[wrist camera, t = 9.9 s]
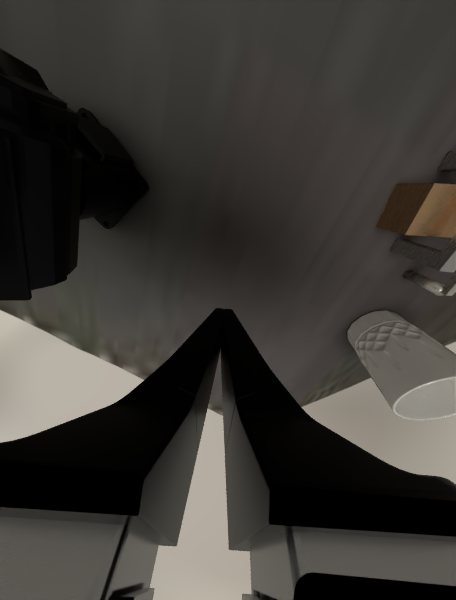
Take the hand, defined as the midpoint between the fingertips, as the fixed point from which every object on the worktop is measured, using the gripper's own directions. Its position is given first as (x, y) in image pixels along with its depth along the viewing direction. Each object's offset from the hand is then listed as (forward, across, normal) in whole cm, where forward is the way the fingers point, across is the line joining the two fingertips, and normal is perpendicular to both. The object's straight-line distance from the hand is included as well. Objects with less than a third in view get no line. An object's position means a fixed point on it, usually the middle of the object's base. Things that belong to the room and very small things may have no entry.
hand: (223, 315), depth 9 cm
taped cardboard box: (+12, -20, -6) cm, 24 cm away
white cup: (+12, -21, +10) cm, 26 cm away
